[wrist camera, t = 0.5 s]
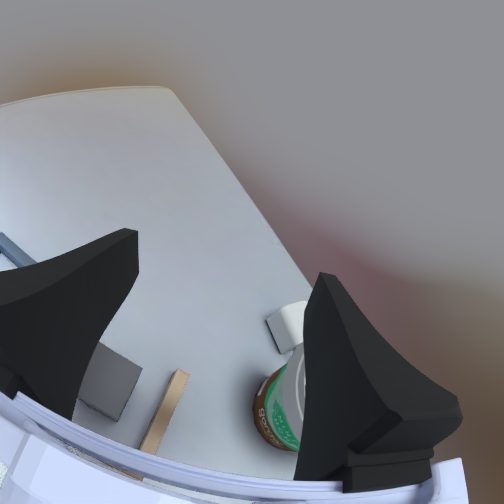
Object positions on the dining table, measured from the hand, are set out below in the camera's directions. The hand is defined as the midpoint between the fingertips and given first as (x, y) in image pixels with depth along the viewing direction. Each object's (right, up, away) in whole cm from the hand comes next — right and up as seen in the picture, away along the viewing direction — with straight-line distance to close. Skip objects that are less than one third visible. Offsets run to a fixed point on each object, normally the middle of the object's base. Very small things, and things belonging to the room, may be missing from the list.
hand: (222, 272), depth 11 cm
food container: (+3, -17, +15) cm, 23 cm away
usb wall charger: (+5, -10, +22) cm, 24 cm away
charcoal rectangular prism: (-12, -12, +10) cm, 19 cm away
